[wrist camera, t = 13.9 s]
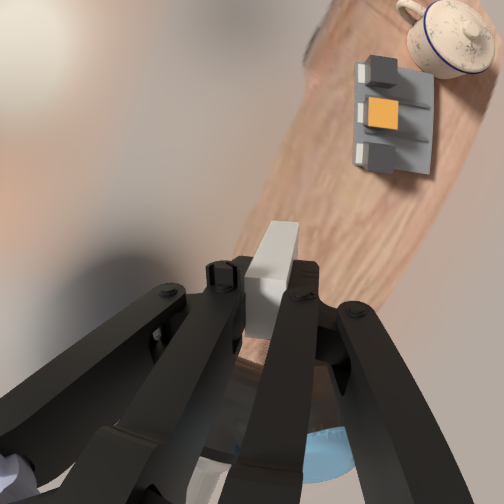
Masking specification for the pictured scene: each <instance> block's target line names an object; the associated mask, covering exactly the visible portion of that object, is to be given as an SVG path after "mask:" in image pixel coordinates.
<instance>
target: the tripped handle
mask: <svg viewBox="0 0 504 504" xmlns="http://www.w3.org/2000/svg"><path fill="white" fill-rule="evenodd" d="M363 125H365V126H373V127H381V128H389V129H396V130H397V129H398V101H394V100H388V99H381V98H373V97H369V99H367V100H365V101H363Z"/></svg>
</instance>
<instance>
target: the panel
mask: <svg viewBox="0 0 504 504" xmlns="http://www.w3.org/2000/svg"><path fill="white" fill-rule="evenodd" d="M369 97H373V98H381V99H388V100H394V101H398V129H397V130H396V129H389V128H381V127H373V126H365V125H363V101H365V100H367V99H369ZM433 116H434V74H429V73H425V72H420V71H415V70H410V69H404V68H399V67H397V59H395V58H388V57H382V56H375V55H370V56H369V57H368V59H367V60H366V61H365V63H364V62H356V63H355V107H354V138H353V157H352V163H353V165H359V166H363V167H364V168H365V170H366V171H369V172H378V173H387V174H394V170H401V171H409V172H416V173H422V174H429V172H430V162H431V151H432V137H433Z"/></svg>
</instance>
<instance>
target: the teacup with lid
mask: <svg viewBox="0 0 504 504" xmlns="http://www.w3.org/2000/svg"><path fill="white" fill-rule="evenodd" d="M405 7H406V8H409V9H411V10H413V11H414V12H416V13H417V14H418V15H420V16H421V18H420V19H419V20H416V19H415V18H414V17H412V16H411V15H410V14H409V13H408V12H407V11H406V9H405ZM396 9H397V12H398V13H399V15H400V16H401V17H402V18H403V19H404V20H405V21H406V22H407V23H408V24H410V25H411V26H412V27H411V28H410V30H409V32H408V36H407V46H408V50H409V53H410V55H411V57H412V59H413V60H414V62H415V63H416V64H417V66H418V67H419V68H420V69H421V70H423V71H424V72H425V73H429V74H434V77H435V78H438V79H451V78H455V77H458V76H462V75H465V74H478V73H481V72H483V71H485V70H486V69H487V68H488V67H489V66H490V65H491V63H492V61H493V59H494V55H495V43H494V39H493V35H492V33H491V31H490V29H489V27H488V25H487V23H486V22H485V21H484V19H483V18H482V17H481V16H480V15H479V14H478V13H477V12H476V11H475V10H473V9H472V8H471V7H469V6H468V5H466V4H464V3H461V2H459V1H455V0H438V1H436V2H434V3H432V4H431V5H430V6H429V7H428V8H427V10H426V9H425V8H423V7H422V6H421V5H419V4H418V3H416V2H414V1H412V0H399V1H398V3H397V5H396Z"/></svg>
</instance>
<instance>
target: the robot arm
mask: <svg viewBox="0 0 504 504" xmlns="http://www.w3.org/2000/svg"><path fill="white" fill-rule="evenodd" d="M298 238H299V223H298V222H284V221H271V223H270V225H269V227H268V229H267V231H266V233H265V236H264V238H263V240H262V242H261V244H260V246H259V248H258V250H257V252H256V254H255V256H254V257H248V256H238V257H236V258H235V259H233V260H232V261H216V262H212V263H210V264H208V265H207V266H206V279H207V287H206V288H205V290H204V291H203V293H198V294H186V291H185V288H184V287H183V286H182V285H180V284H177V283H165V284H161V285H159V286H157V287H155V288H153V289H152V290H150V291H149V292H148V293H146V294H145V295H143V296H142V297H140V298H139V299H137V300H136V301H135V302H133V303H132V304H130V305H129V306H128V307H126V308H124V309H123V310H122V311H120V312H119V313H117V314H116V315H115V316H113V317H112V318H110V319H109V320H107V321H106V322H105V323H103V324H102V325H100V326H99V327H97V328H96V329H95V330H93V331H92V332H90V333H89V334H88V335H86V336H85V337H84V338H82V339H81V340H79V341H78V342H76V343H75V344H74V345H72V346H71V347H69V348H68V349H67V350H65V351H64V352H62V353H61V354H60V355H58V356H57V357H56V358H54V359H53V360H52V361H50V362H49V363H47V364H46V365H45V366H43V367H42V368H41V369H39V370H38V371H36V372H35V373H34V374H33V375H31V376H30V377H28V378H27V379H26V380H25V381H23V382H22V383H20V384H19V385H18V386H16V387H15V388H14V389H12V390H11V391H10V392H9V393H7V394H6V395H4V396H3V397H2V398H0V504H208V502H209V500H210V498H211V495H212V493H213V491H214V488H215V486H216V484H217V481H218V479H219V477H220V474H222V473H223V472H224V471H227V470H229V472H228V475H227V477H226V480H225V483H224V486H223V489H222V492H221V495H220V498H219V501H218V504H299V503H300V497H301V490H302V484H305V483H318V482H323V481H327V480H331V479H334V478H337V477H339V476H341V475H344V474H345V473H347V472H348V471H350V470H351V469H352V468H354V467H355V466H356V470H357V473H358V477H359V481H360V485H361V489H362V492H363V496H364V500H365V504H474V503H473V499H472V497H471V495H470V492H469V490H468V488H467V485H466V483H465V481H464V478H463V476H462V474H461V472H460V469H459V467H458V465H457V463H456V461H455V459H454V456H453V454H452V452H451V450H450V448H449V446H448V444H447V442H446V440H445V438H444V436H443V434H442V432H441V430H440V427H439V426H438V424H437V422H436V420H435V418H434V416H433V414H432V412H431V410H430V408H429V406H428V404H427V402H426V401H425V399H424V397H423V395H422V393H421V391H420V389H419V387H418V385H417V384H416V382H415V380H414V378H413V376H412V374H411V373H410V371H409V369H408V367H407V366H406V364H405V362H404V360H403V359H402V357H401V355H400V353H399V352H398V350H397V348H396V346H395V345H394V343H393V341H392V340H391V338H390V336H389V334H388V333H387V331H386V329H385V328H384V326H383V324H382V323H381V321H380V319H379V318H378V316H377V315H376V313H375V311H374V310H373V309H372V308H371V307H370V306H369V305H367V304H365V303H363V302H360V301H347V302H344V303H342V304H340V305H339V307H338V309H337V308H333V307H330V306H328V305H326V304H324V303H323V302H322V301H321V300H320V299H319V296H318V288H319V266H318V265H317V263H316V262H315V261H303V260H297V254H298ZM244 328H245V337H252V338H260V339H268V340H271V342H270V346H269V349H268V353H267V357H266V361H265V364H264V366H263V365H260V364H257V363H254V362H252V361H249V360H247V359H244V358H241V357H239V356H238V354H239V352H240V349H241V346H242V333H243V330H244ZM156 329H158V333H159V335H158V336H157V337H156V338H153V334H152V333H153V332H154V331H155V330H156ZM119 420H120V421H119ZM118 421H119V422H118ZM117 422H118V423H117ZM116 423H117V424H116ZM114 424H116V425H115V426H114ZM73 463H75V464H74V465H73V467H72V468H71V470H70V472H69V473H68V474H67V476H66V478H65V479H64V481H63V482H62V484H61V486H60V487H58V488H56V489H52V490H49V491H47V492H44V493H41V494H40V492H39V491H38V489H37V488H39V487H41V486H43V485H45V484H47V483H49V482H50V481H52V480H54V479H55V478H57V477H58V476H59V475H61V474H62V473H63V472H64V471H65V470H67V469H68V468H69V467H70V466H71V465H72V464H73Z"/></svg>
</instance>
